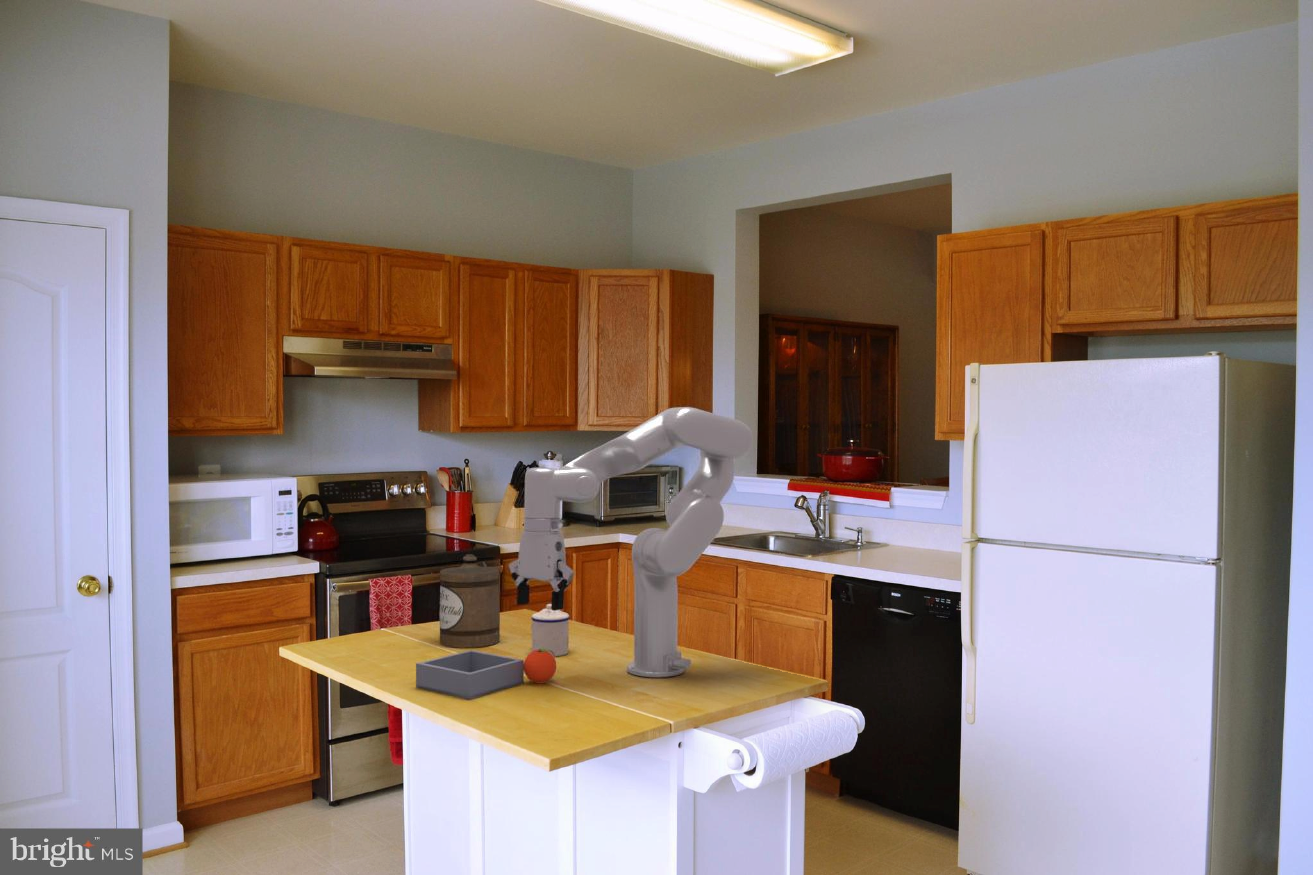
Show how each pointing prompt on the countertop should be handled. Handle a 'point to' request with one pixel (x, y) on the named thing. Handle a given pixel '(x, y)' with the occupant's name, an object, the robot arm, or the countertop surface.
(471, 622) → the wooden container
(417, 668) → the bin
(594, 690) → the countertop surface
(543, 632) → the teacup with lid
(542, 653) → the clementine
